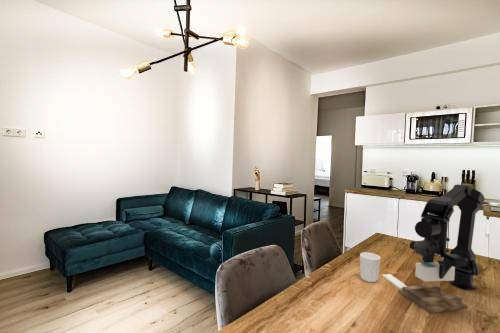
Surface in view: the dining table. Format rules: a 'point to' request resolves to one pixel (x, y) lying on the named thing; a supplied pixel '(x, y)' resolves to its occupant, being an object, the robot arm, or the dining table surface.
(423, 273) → the white box
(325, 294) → the dining table surface
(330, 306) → the dining table surface
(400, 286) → the strip
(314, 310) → the dining table surface
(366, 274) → the white cup
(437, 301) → the cradle
